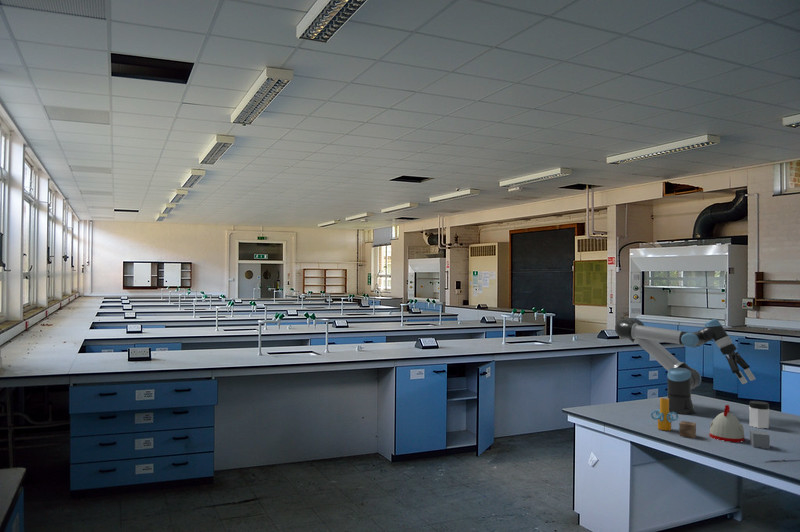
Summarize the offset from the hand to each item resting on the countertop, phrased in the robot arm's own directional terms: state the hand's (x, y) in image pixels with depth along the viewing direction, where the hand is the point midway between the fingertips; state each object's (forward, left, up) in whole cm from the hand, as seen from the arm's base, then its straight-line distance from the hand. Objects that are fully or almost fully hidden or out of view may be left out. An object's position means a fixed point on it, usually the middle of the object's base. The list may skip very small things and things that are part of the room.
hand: (749, 381), depth 293 cm
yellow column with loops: (-32, -56, -19) cm, 67 cm away
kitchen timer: (-6, -54, -19) cm, 57 cm away
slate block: (+7, -60, -19) cm, 63 cm away
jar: (+5, -19, -19) cm, 27 cm away
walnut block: (-21, -62, -19) cm, 68 cm away
